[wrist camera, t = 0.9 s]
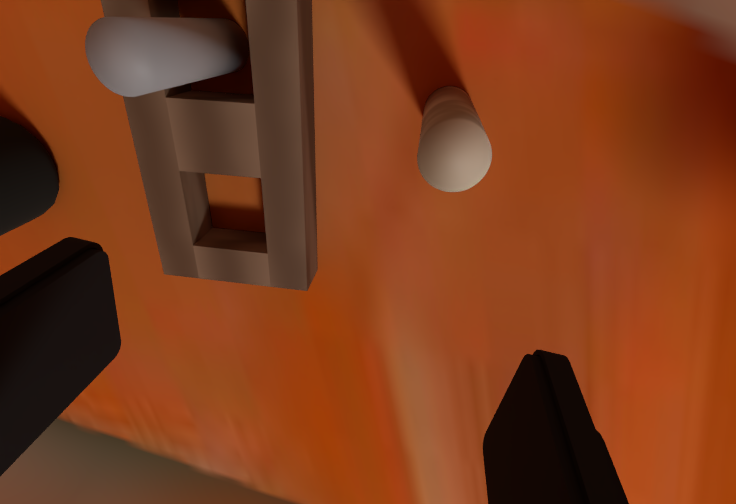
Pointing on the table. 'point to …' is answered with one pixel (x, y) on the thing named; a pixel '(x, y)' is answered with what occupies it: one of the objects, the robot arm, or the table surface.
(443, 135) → the birch peg
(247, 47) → the grey peg
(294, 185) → the walnut hole block
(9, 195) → the wine bottle
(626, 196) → the table surface
